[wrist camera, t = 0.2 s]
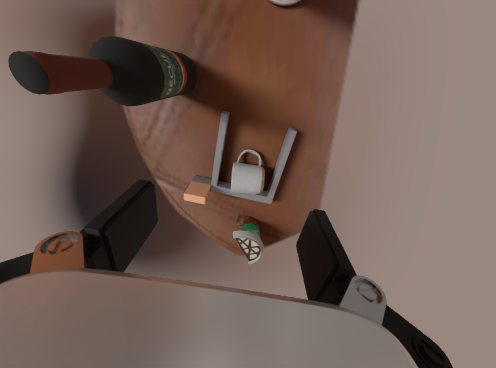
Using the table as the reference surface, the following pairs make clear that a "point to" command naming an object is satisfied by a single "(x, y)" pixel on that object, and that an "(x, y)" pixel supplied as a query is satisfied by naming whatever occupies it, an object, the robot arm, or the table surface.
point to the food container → (249, 237)
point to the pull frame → (203, 185)
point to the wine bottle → (108, 71)
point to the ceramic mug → (247, 176)
